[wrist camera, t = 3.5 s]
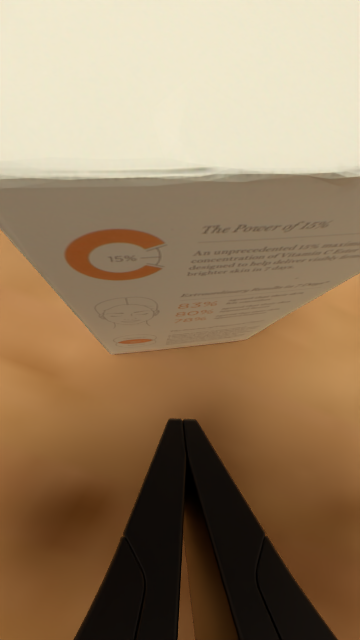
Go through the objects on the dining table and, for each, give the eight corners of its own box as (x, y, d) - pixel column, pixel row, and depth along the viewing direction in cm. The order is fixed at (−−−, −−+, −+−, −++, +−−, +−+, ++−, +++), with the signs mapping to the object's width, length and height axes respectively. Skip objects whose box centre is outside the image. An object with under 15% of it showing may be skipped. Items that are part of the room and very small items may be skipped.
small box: (230, 244, 18) (419, -101, 6) (248, 341, 16) (570, 167, 4) (100, 251, 17) (-32, -163, 4) (106, 356, 15) (-71, 179, 3)
